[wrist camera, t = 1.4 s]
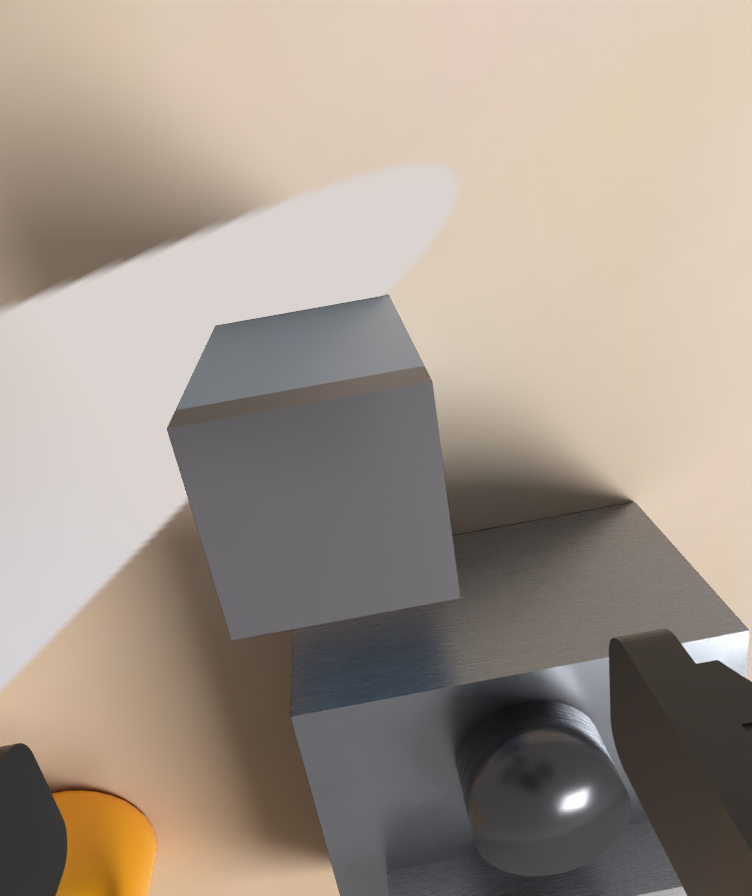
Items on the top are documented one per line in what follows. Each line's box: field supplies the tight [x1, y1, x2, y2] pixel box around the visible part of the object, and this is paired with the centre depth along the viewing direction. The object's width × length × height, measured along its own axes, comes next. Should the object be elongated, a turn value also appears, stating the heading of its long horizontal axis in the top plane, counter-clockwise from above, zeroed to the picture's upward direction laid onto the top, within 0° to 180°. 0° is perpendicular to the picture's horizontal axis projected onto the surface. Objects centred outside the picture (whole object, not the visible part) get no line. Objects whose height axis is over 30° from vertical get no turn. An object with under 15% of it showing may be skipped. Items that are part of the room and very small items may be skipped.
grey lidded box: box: [167, 295, 460, 641], centre depth 18 cm, size 5×5×8 cm
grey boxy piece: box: [291, 502, 749, 896], centre depth 24 cm, size 16×12×9 cm
